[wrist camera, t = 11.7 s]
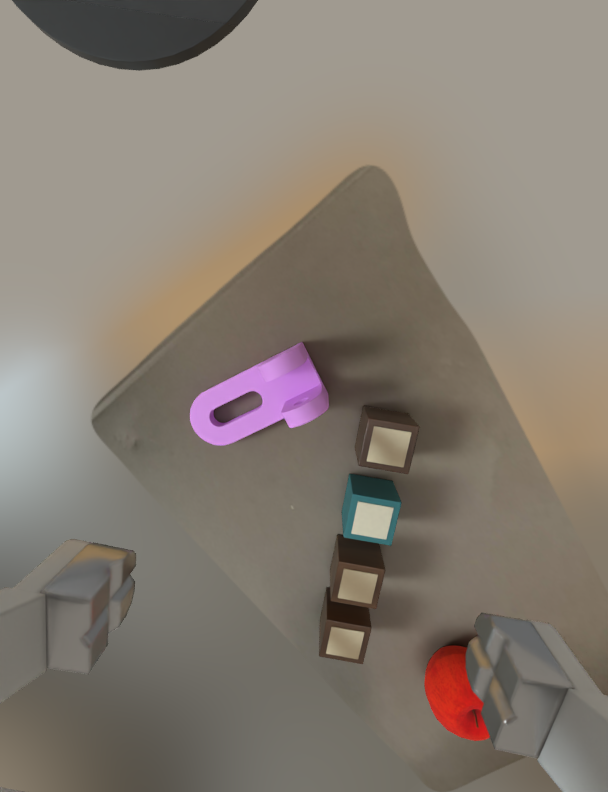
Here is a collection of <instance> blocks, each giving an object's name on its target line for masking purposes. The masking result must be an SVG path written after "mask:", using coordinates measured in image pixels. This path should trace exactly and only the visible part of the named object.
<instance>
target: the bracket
mask: <svg viewBox="0 0 608 792" xmlns="http://www.w3.org/2000/svg"><path fill="white" fill-rule="evenodd" d="M250 391H255V392H258V393H259V394H260V395H261V397H262V399H263V403H262V405H261V406H259V407H257V408H255V409H253V410H251V411H249V412H247V413H245V414H243V415H241V416H238V417H236V418H234V419H232V420H230V421H228V422H226V423H221V422H218V421H217V420H216V419H215V417H214V409H215V408H217V407H219V406H221V405H223V404H225V403H227V402H229V401H231V400H233V399H235V398H237V397H239V396H241V395H243V394H245V393H247V392H250ZM328 408H329V397H328V392H327V390H326V388H325V386H324V384H323V382H322V380H321V378H320V376H319V374H318V372H317V370H316V368H315V366H314V364H313V362H312V360H311V358H310V356H309V354H308V352H307V350H306V348H305V346H304V344H303V342H301V343H299V344H297V345H295V346H293V347H291V348H289V349H287V350H285V351H283V352H281V353H279V354H277V355H275V356H273V357H271V358H269V359H267V360H265V361H263V362H261V363H259V364H257V365H255V366H253V367H251V368H249V369H247V370H245V371H243V372H241V373H239V374H237V375H235V376H233V377H231V378H229V379H228V380H226V381H224V382H222V383H220V384H218V385H216V386H214V387H212V388H210V389H208V390H206V391H205V392H203V393H201V394H200V395H199V396H198V397H197V398H196V399H195V400H194V402H193V404H192V406H191V410H190V420H191V424H192V427H193V429H194V431H195V432H196V434H197V435H198V436H199V437H200V438H201V439H203V440H204V441H206V442H208V443H210V444H214V445H228V444H231V443H233V442H235V441H237V440H240V439H242V438H244V437H246V436H248V435H250V434H252V433H254V432H256V431H258V430H261V429H263V428H265V427H267V426H269V425H271V424H273V423H275V422H277V421H279V420H282V419H284V418H285V420H286V422H287V424H288V426H289V427H290V428H293V427H297V426H300V425H303V424H305V423H308V422H310V421H312V420H314V419H315V418H317V417H319V416H320V415H322V414H323V413H324V412H325V411H326V410H327V409H328Z"/></svg>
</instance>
